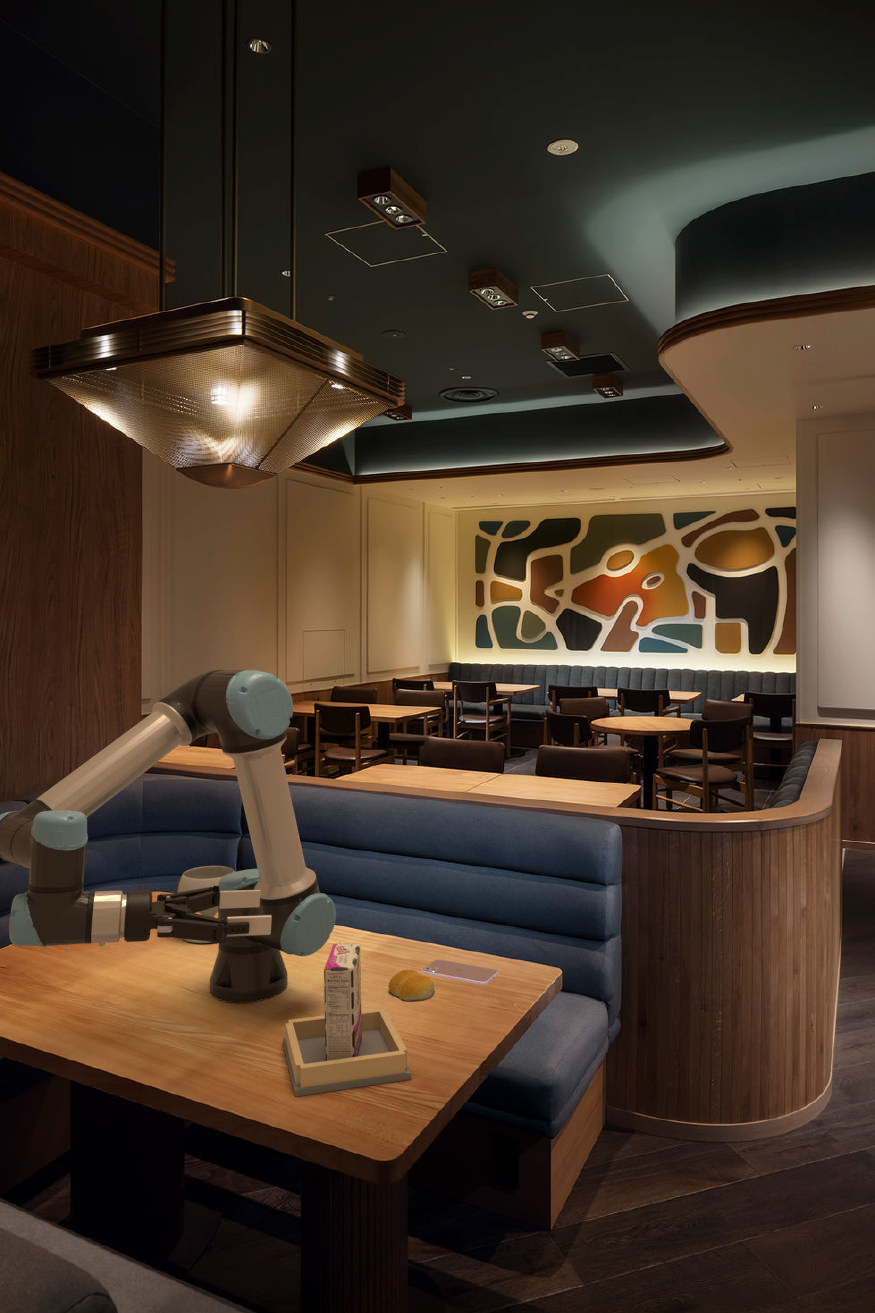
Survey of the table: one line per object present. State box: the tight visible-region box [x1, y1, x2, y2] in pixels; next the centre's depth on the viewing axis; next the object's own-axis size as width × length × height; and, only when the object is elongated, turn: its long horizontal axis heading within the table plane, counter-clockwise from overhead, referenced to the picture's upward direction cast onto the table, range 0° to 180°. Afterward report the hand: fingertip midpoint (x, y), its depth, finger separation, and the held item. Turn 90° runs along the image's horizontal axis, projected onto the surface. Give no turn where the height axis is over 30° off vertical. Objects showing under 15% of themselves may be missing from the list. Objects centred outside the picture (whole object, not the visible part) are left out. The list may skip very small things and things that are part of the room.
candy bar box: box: [323, 942, 362, 1061], centre depth 139 cm, size 11×5×16 cm, turn 179°
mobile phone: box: [421, 959, 499, 985], centre depth 176 cm, size 8×1×15 cm
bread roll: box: [388, 969, 435, 1002], centre depth 166 cm, size 8×9×4 cm
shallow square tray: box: [282, 1008, 412, 1097], centre depth 139 cm, size 18×18×4 cm
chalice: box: [177, 865, 236, 944], centre depth 199 cm, size 14×14×15 cm
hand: (265, 911), depth 136 cm, fingers open, 13 cm apart
